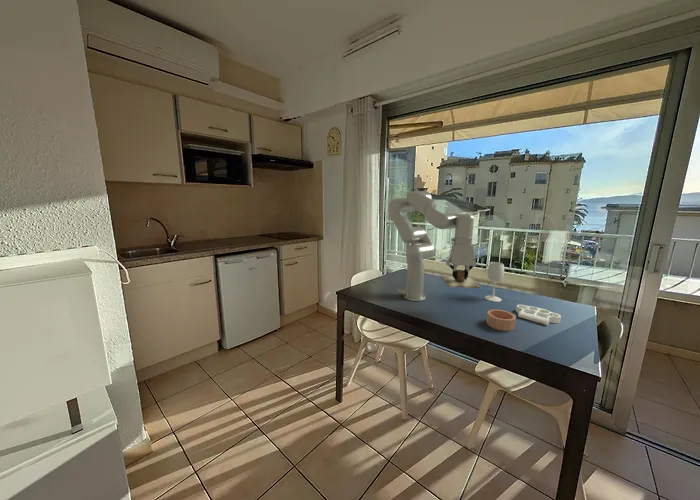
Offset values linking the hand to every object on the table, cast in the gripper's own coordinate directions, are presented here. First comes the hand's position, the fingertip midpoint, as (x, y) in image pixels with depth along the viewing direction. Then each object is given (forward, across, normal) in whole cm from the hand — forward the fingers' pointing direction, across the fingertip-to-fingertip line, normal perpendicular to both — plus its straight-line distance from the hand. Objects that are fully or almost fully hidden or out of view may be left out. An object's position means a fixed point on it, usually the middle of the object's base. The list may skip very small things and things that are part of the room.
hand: (459, 278), depth 127 cm
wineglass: (+19, +26, +24) cm, 40 cm away
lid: (+2, 0, 0) cm, 2 cm away
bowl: (+19, +17, -8) cm, 27 cm away
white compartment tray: (+20, +38, +2) cm, 42 cm away
